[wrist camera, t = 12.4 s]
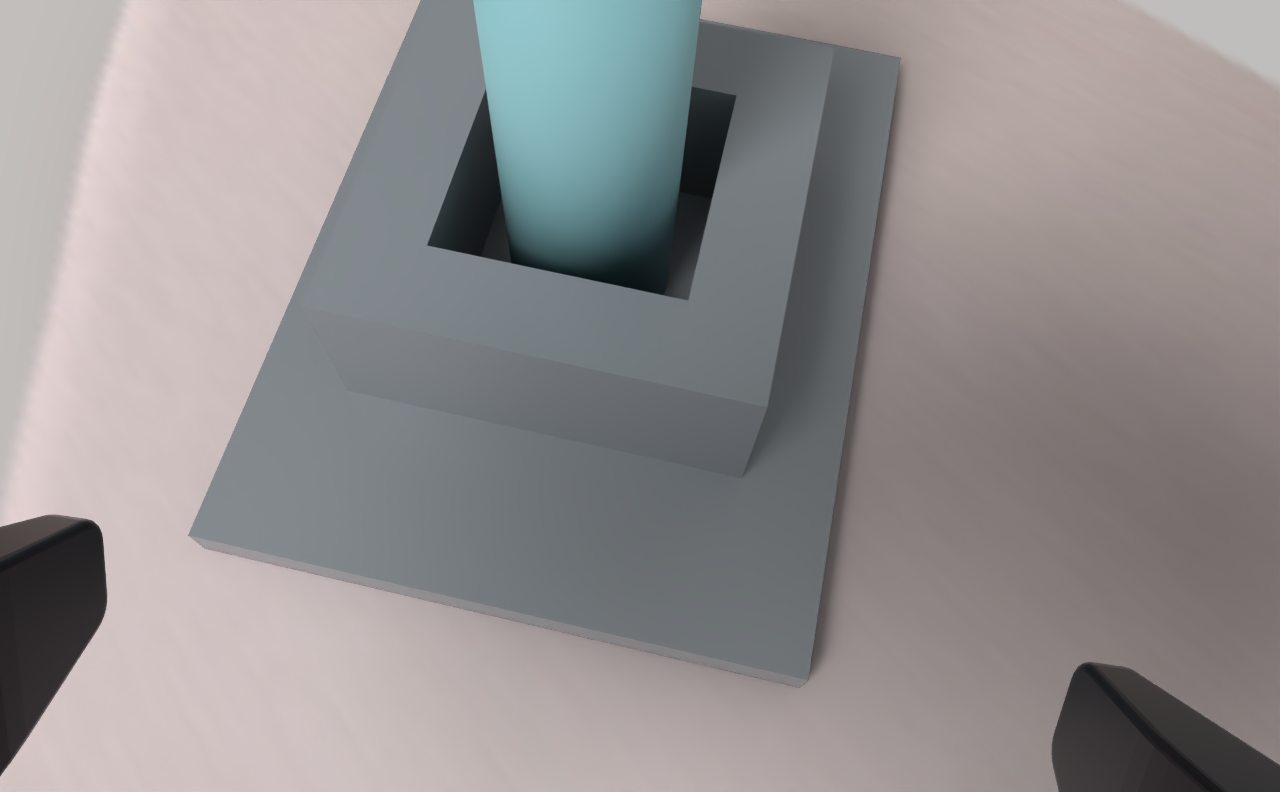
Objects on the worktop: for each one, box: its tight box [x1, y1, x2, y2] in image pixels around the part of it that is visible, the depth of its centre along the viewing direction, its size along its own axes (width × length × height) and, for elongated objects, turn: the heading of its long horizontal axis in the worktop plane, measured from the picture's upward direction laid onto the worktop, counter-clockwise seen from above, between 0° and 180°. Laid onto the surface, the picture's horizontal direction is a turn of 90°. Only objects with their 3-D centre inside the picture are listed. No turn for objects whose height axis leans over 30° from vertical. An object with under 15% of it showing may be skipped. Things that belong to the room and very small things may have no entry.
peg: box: [473, 0, 702, 295], centre depth 20 cm, size 4×4×13 cm
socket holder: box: [188, 0, 901, 688], centre depth 24 cm, size 18×14×5 cm
